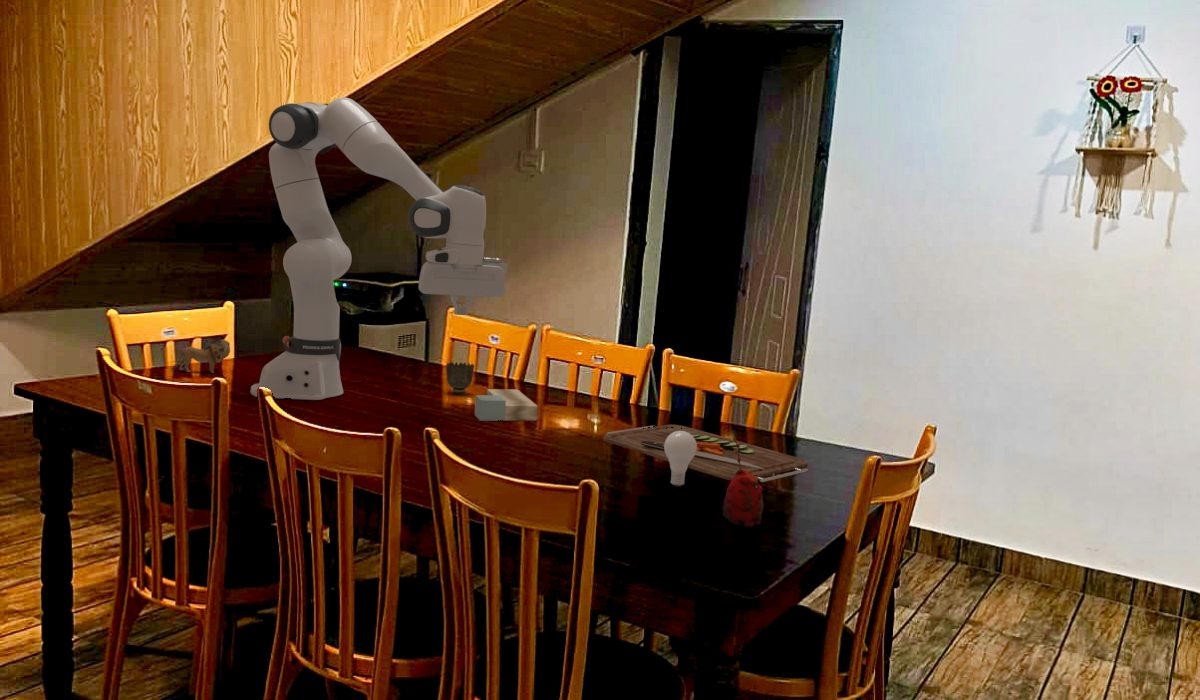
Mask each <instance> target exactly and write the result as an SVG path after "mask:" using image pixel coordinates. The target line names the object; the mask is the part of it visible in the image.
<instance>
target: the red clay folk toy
mask: <svg viewBox="0 0 1200 700" xmlns="http://www.w3.org/2000/svg"><path fill="white" fill-rule="evenodd" d="M733 440H734V441H735V443H736V447H737V449H736V448H734V453H735V454H737V452H738V460H737V461H738V463H739V470H738V471H737V472H736V474H735V476H734V477H733V479H732V480H730V483H729V484H728V486H727V489H726V493H725V497H724V499H723V502H722V503H723V504H722V510H723V511H722V515H723V518H725V519H726V520H727V521H729V523H731V524H733V525H736V526H739V527H740V526H744V527H745V528H749V527H750V528H752V527H754V526H757V525H760V524H761V521H762V514H763V512H764V501H763V497H764V496H763V494H762V492H763V487H762V486H761V485H760V484H759V479H758V478H757V477H756V476H753V475H751V472H749V471H744V470H742V469H741V465H740V461H741V459H742V458H740V456H739V446H740V445H741V444H743V443H744V441H741V442H742V443H741V444H738V443H737V441H738V440H736V438H735V437H734V438H733ZM731 446H735V445H731Z"/></svg>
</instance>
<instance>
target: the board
mask: <svg viewBox="0 0 1200 700" xmlns="http://www.w3.org/2000/svg"><path fill="white" fill-rule="evenodd" d="M486 395H500V396H501V397H502V398H503V399H505V400H506V406H505V421H538V410H539V409H538V407H539V406H538V404H536V403H535V402H533V401H532V400H531V399H530V398H529V397H527V396H526V395H525V394H523V393H522V392H521V391H520V390H519V389H518V388H517V389H513V388H512V389H511V388H510V389H505V388H504V389H502V388H501V389H499V388H497V389H496V388H495V389H493V388H488V389H487V388H486Z"/></svg>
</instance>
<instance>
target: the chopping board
mask: <svg viewBox="0 0 1200 700" xmlns="http://www.w3.org/2000/svg"><path fill="white" fill-rule="evenodd" d="M653 426H655V425H649V426H642V427H636V428H635V427H634V428H627V429H621V430H615V431H610V432H609V431H608V432H606V434H604V435H603V438H602V439H603V441H604V442H605V441H606V442H605V443H608V444H611V445H614V444H615V445H614V446H617V445H618V447H620V446H622V447H621V448H624V449H627V448H628V450H630V449H631V450H630V451H633V450H634V451H633V452H636V451H637V452H636V453H640V454H644V455H646V454H647V456H649V455H650V456H649V457H652V456H653V458H656V459H659V460H662V461H666V462H668V463H670V462H669V460H668V458H667V456H666V454H665V451H664V444H665V440H666V439H667V437H668V436H669V435H670V434H671V433H673V432H675V431H685V432H688V433H690V434H691V435H692V436H693V437H694V439H695V441H696V444H697V451H696V454H695V456H694V457H693V459H692V460H691V461H690V463H689V464H688V467H687V469H691V470H694V471H698V472H701V473H704V474H707V475H711V476H714V477H717V478H721V479H722V480H723V479H724V480H726V481H727V480H728V481H732V479H733V477H734V476H735V474H736V472H737V471H738V470H739V463H738V461H737V460H738V452H737V454H735V453H734V448H736V449H737V447H736V443H735V441H734V439H732V438H728V437H725V436H721V435H717V434H714V433H711V432H706V431H703V430H699V429H697V428H692V427H688V426H685V425H681V424H665V425H659V426H655V427H653ZM648 427H650V428H648ZM671 427H673V428H671ZM643 428H644V429H643ZM666 428H667V429H666ZM681 428H682V429H681ZM736 441H737V443H738V444H741V443H742V442H743V441H740V440H739V441H738V440H736ZM731 445H735V446H731ZM739 456H740V458H742V459H741V461H740V465H741V469H742V470H744V471H749V472H751V475H753V476H756V477H757V478H758V480H759V482H761V483H765V482H769V481H774V480H777V479H778V480H779V479H782V478H787V477H791V476H795V475H798V474H803V473H808V471H809V469H808V468H805V467H807V460H805V459H803V458H800V457H797V456H793V455H790V454H787V453H783V452H779V451H776V450H772V449H768V448H764V447H761V446H757V445H753V444H751V443H750V444H749V443H746V442H743V444H741V445H740V446H739ZM802 468H803V469H802ZM793 470H794V471H793ZM781 473H782V474H781ZM773 475H774V476H773ZM768 476H769V477H768Z"/></svg>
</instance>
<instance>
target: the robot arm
mask: <svg viewBox="0 0 1200 700" xmlns="http://www.w3.org/2000/svg"><path fill="white" fill-rule="evenodd" d="M268 129H269V134H270V136H271V138H272V139H273V140H274V142H275V143H274V144H273V145H272V146H271V147H270V149H269V152H268V160H269V169H270V175H271V180H272V184H273V188H274V191H275V195H276V199H277V202H278V206H279V210H280V212H281V216H282V220H283V221H284V222H285V224H286V225H287V226H288V228H289V229H290V231H291V232H292V234H293V237H294V238H295V240H296V243H294V244H293V245H291V246H290V247H288V249H287V250H286V251H285V253H284V256H283V259H282V261H283V262H282V264H283V270H284V272H285V274H286V275H287V276H288V280H289V284H290V285H289V286H290V289H291V294H292V302H293V335H292V336H289V335H285V336H284V337H282V339H281V340H282V343H283V344H284V352H282V353H281V354H279V355H277V357H275V358H273V359H272V360H271V361H269V362H267V363H266V364H265V365H264V366H263V368H262V370H261V373H260V378H259V383H254V384H253V385H251V387H250V394H251V395H252V396H254V397H256V398H258V397H257V389H258V387H265V388H268V389H270V390H271V391H272V393H273V396H274V397H275V398H274V399H284V398H291V399H292V400H310V401H319V400H324V399H327V398H332V397H337V396H341V395H343V394H344V389H343V384H342V380H341V374H340V360H341V354H342V353H341V350H342V342H341V338H340V316H341V315H340V314H341V308H340V305H339V303H338V302H337V301H338V300H337V298H336V296H337V295H336V291H335V286H334V281H335V280H338V279H340V278H341V277H342V276H344V275H345V274H346V273H347V272H348V270H349V269H350V267H351V264H352V259H353V258H352V257H353V256H352V253H351V250H350V248H349V246H348V245H346V243H345V242H344V241H343V238H342V236H341V233H340V232H339V229H338V228H337V225H336V224H335V221H334V220H333V218H332V215H331V212H330V210H329V207H328V205H327V204H328V203H327V202H326V198H325V194H324V190H323V187H322V184H321V181H320V177H319V174H318V170H317V166H316V157H317V155H318V154H320V155H324V154H326V153H327V152H329V151H330V150H331V149H333V148H334V147H336V146H337V147H338V149H339V150H340V151H341V152H342V153H343V155H345V156H346V158H347V159H348V160H349V161H350V162H351V163H352V164H354V165H355V166H356V167H358V168H359V169H360V170H361V171H362V172H365V173H366V174H369V175H372V176H376V177H378V178H382V179H385V180H388V181H390V182H393V183H395V184H396V185H399V186H400V187H402V189H404V190H405V191H406V192H407V193H408V194H409V195H410V196H411V197H412V198H413V199H414V200H415V201H414V202H413V203H412V205H411V206H410V208H409V210H408V214H407V218H408V224H409V226H410V229H411V230H412V232H413V233H414V234H416V235H417V236H419V237H422V238H425V239H445V241H446V244H445V247H440V248H436V249H433V250H428V251H426V253H425V260H426V262H424V263H423V265H422V266H421V269H420V273H419V280H418V290H419V291H420V293H422V294H425V295H438V296H439V295H441V296H442V295H443V296H449V297H450V298H449V299H450V301H451V303H452V305H453V313H454V315H455V316H456V315H459V316H468V314H469V313H468V312H469V311H468V310H469V308H470V307H471V305H472V303H473V302H474V297H480V298H481V297H482V298H483V297H484V298H499V299H500V298H501V299H502V298H503V297H504V296H505V294H506V276H507V274H508V263H507V262H506V261H504V260H503V259H502V258H501V257H496V258H495V257H488V256H485V255H484V253H485V252H484V251H485V239H484V233H485V230H486V225H487V201H486V195H485V194H484V192H483V191H481V189H478V188H476V187H472V186H467V185H465V184H464V185H462V184H455V185H453V186H451V187H450V188H449V189H447V190H443V189H442V188H441V187H440V186H439V185H438V184H437V183H436V182H435V181H434V180H433V179H432V178H431V177H430V176H429V175H428V174H427V173H426V172H425V171H424V170H423V169H422V168H421V167H419V165H417V164H416V162H415V161H413V159H411V158H410V156H409V155H408V154H407V153H406V152H405V151H404V150H403V149H402V147H400V146H399V144H398V143H397V142H396V141H395V140H394V138H393V137H392V136H391V135H390V134H389V133H388V131H386V129H385V128H384V127H383V126H382V125H381V124H380V122H378V120H377V119H376V118H375V117H374V116H373V115H371V113H370V112H369V111H368V110H367V109H365V108H364V107H362V105H360V104H359V103H358V102H356V101H355V100H353V99H352V98H349V97H344V96H343V97H338V98H336V99H334V100H332V101H331V102H330V103H319V102H310V101H309V102H308V101H307V102H302V103H292V102H291V103H286V104H282V105H280V106H278V107H277V108H275V109H274V110H273V111H272V112H271V114H270V116H269V120H268ZM459 296H462V297H463V296H464V297H465V300H466V302H465V304H464V306H458V304H457V302H456V301H458V300H459V299H458V297H459ZM291 399H290V400H291Z"/></svg>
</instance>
